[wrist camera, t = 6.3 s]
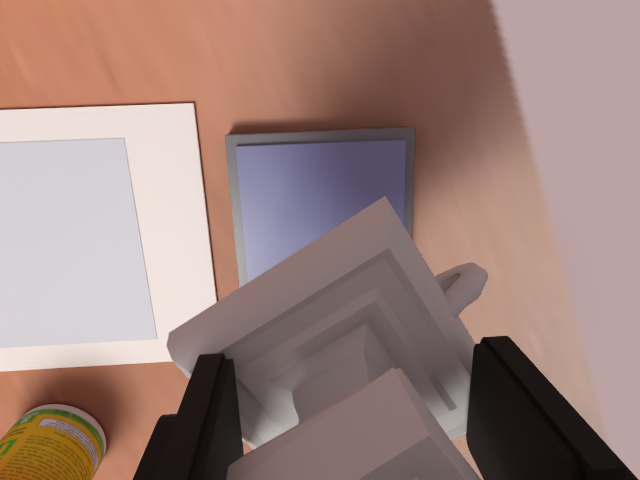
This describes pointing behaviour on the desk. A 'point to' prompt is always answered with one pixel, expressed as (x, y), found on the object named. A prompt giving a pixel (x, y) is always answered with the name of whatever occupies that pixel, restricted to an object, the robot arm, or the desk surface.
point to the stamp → (346, 358)
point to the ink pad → (311, 187)
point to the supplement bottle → (52, 445)
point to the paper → (100, 234)
